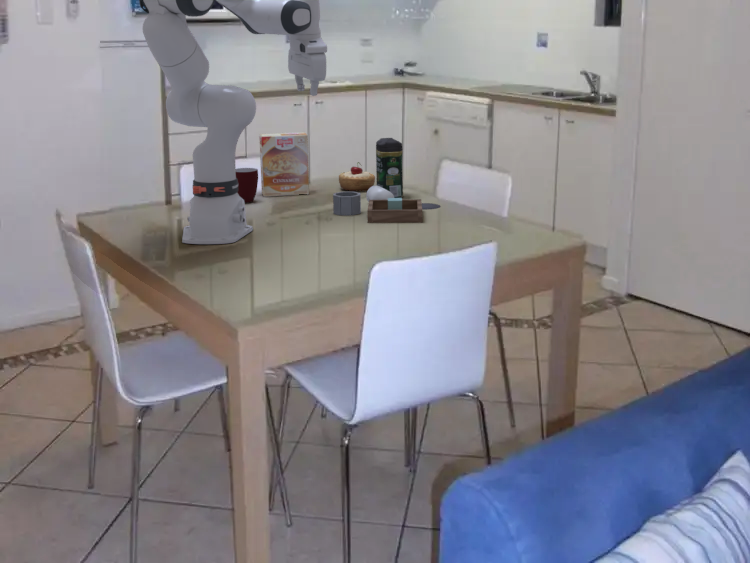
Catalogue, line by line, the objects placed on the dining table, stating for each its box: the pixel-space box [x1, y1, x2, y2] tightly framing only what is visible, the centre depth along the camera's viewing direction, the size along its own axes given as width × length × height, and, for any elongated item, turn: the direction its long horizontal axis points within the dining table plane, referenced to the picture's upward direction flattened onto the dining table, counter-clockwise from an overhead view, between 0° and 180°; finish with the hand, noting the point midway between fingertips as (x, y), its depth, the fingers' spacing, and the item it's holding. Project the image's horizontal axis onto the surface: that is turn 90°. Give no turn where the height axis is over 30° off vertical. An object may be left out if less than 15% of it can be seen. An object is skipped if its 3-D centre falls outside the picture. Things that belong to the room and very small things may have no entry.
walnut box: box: [366, 198, 423, 224], centre depth 261 cm, size 15×15×4 cm
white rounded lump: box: [365, 184, 394, 203], centre depth 276 cm, size 9×6×6 cm, turn 18°
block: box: [388, 197, 403, 210], centre depth 261 cm, size 4×4×5 cm
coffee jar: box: [375, 137, 404, 198], centre depth 290 cm, size 10×8×19 cm
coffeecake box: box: [258, 131, 310, 198], centre depth 296 cm, size 15×7×20 cm, turn 103°
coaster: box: [422, 202, 441, 211], centre depth 275 cm, size 9×9×1 cm
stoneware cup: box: [332, 191, 362, 216], centre depth 267 cm, size 8×8×6 cm
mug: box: [235, 167, 259, 204], centre depth 287 cm, size 10×8×10 cm
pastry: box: [338, 161, 376, 192], centre depth 304 cm, size 12×12×9 cm
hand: (307, 93), depth 265 cm, fingers open, 8 cm apart
